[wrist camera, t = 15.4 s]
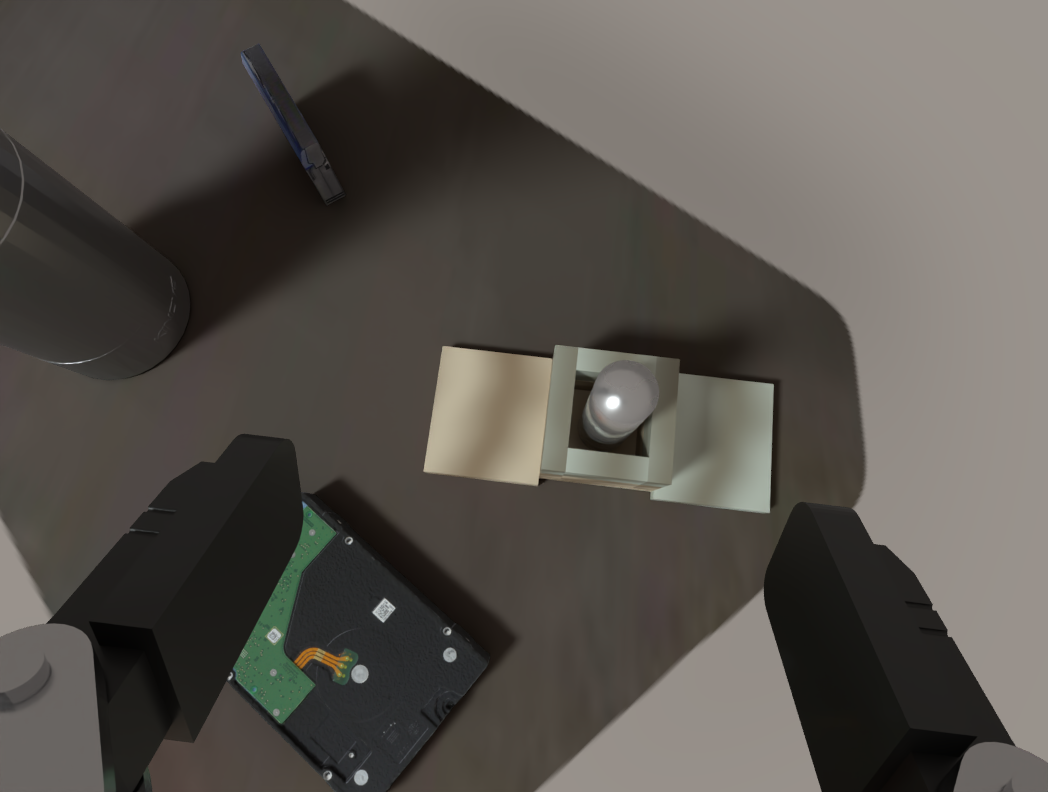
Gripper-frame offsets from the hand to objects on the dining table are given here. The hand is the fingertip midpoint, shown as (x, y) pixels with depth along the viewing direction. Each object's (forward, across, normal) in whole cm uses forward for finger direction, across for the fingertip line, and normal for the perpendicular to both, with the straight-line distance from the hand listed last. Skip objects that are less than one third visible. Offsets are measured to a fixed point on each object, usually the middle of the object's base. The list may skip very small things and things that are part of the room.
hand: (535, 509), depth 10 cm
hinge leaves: (+25, -4, +16) cm, 30 cm away
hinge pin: (+24, -4, +15) cm, 29 cm away
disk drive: (+15, +10, +26) cm, 32 cm away
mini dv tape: (+37, +18, +4) cm, 42 cm away
